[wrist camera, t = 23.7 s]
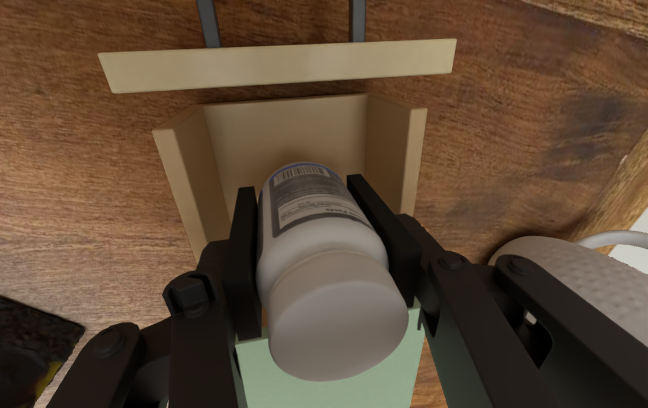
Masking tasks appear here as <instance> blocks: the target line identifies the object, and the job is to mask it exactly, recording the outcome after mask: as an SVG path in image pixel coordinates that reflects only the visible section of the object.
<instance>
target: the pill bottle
mask: <svg viewBox="0 0 648 408" xmlns="http://www.w3.org/2000/svg"><path fill="white" fill-rule="evenodd" d="M256 241H257V244H256V268H255V283H256V289H257V293H258V296H259V299H260V301H261V303H262V305H263V306H264V308H265V309H266V311H267V322H268V346H269V351H270V354H271V356H272V359H273V360H274V362H275V363H276V365H277V366H278V367H279V368H280V369H282V370H283V371H284V372H285V373H287V374H288V375H291V376H293V377H295V378H298V379H301V380H306V381H313V382H327V381H336V380H342V379H347V378H350V377H353V376H355V375H358V374H361V373H363V372H365V371H367V370H369V369H371V368H373V367H374V366H376V365H377V364H379V363H381V362H382V361H383V360H385V359H386V358H387V357H388V356H389V355H390V354H391V353H392V352H393V351H394V350H395V349H396V348H397V347H398V345H399V344H400V342H401V341H402V339H403V337H404V335H405V333H406V330H407V327H408V323H409V314H408V309H407V306H406V303H405V301H404V299H403V297H402V295H401V294H400V292H399V290H398V288H397V286H396V284H395V282H394V280H393V278H392V276H391V275H390V274H389V260H388V255H387V252H386V249H385V246H384V244H383V242H382V241H381V238H380V237H379V235H378V234H377V233H376V231H375V230H374V228H373V227H372V225H371V224H370V222H369V221H368V220H367V218H366V216H365V215H364V213H363V212H362V210H361V209H360V208H359V206H358V205H357V203H356V201H355V200H354V198H353V197H352V195H351V194H350V192H349V191H348V189H347V188H346V186H345V185H344V183H343V182H342V180H341V179H340V177H339V176H338V175H337V174H336V173H335V172H334V171H332V170H331V169H330V168H328V167H326V166H324V165H322V164H319V163H316V162H311V161H301V162H294V163H290V164H287V165H285V166H283V167H281V168H280V169H278V170H277V171H275V172H274V173H273V174H272V175H271V176H270V177H269V178H268V179H267V180H266V182H265V183H264V185H263V187H262V189H261V191H260V194H259V198H258V206H257V239H256Z"/></svg>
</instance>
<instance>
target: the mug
mask: <svg viewBox="0 0 648 408" xmlns="http://www.w3.org/2000/svg"><path fill="white" fill-rule="evenodd" d="M614 244H624V245H632V246H638V247H642V248H645V249H648V234H647V233H643V232H638V231H629V230H613V231H606V232H601V233H597V234H593V235H590V236H587V237H584V238H582V239H579V240H577V241H575V242H573V243H571V242H568V241H565V240H561V239H555V238H549V237H542V236H525V237H520V238H517V239H514V240H512V241H509V242H508V243H506V244H505V245H503V246H502V247H501V248H499V249H498V250H497V251H496V252H495V253H494V254H493V256H492V257H491V258H490V260H489V262H488V264H487V265H493V266H494V265H495V262H496V259H497V258H498V256H501V255H504V254H514V255H519V256H522V257H525V258H528V259H530V260H532V261H533V262H535V263H537V264H538V265H539V266H541V267H542V268H543V269H545V270H546V271H547V272H549V273H550V274H551V275H553V276H554V277H555V278H557V279H558V280H559V281H561V282H562V283H563V284H565V285H566V286H567V287H569V288H570V289H571V290H573V291H574V292H575V293H577V294H578V295H579V296H581V297H582V298H583V299H585V300H586V301H587V302H589V303H590V304H591V305H593V306H594V307H595V308H596V309H598V310H599V311H600V312H602V313H603V314H604V315H606V316H607V317H608V318H610V319H611V320H612V321H614V322H615V323H616V324H618V325H619V326H620V327H622V328H623V329H624V330H626V331H627V332H628V333H630V334H631V335H632V336H634V337H635V338H636V339H638V340H639V341H640V342H642V343H643V344H644V345H646V346H647V347H648V275H647V274H645V273H642V272H640V271H638V270H637V269H635V268H633V267H631V266H629V265H628V264H625V263H622V262H620V261H618V260H616V259H614V258H613V257H609V256H607V255H605V254H602V253H600V252H597V251H595V250H594V249H595V248H598V247H602V246H606V245H614ZM526 318H527V319H528V320H529V321H530V322H531V323H533V324H535V322H536V319H535V318H534V317H533V316H532V315H531V314H530V313H529V312H528V314H527V316H526Z"/></svg>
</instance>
